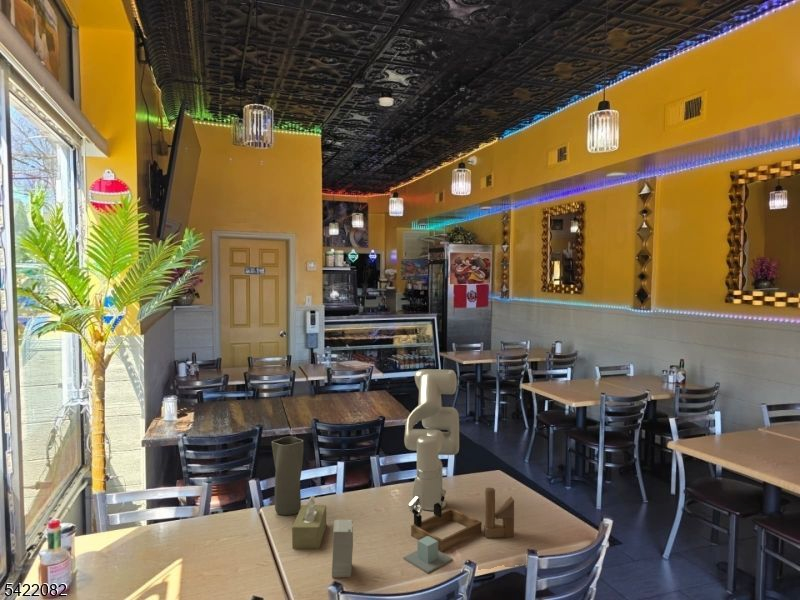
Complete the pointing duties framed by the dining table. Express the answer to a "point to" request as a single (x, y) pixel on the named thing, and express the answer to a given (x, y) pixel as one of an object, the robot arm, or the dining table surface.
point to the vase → (287, 474)
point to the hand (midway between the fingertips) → (427, 520)
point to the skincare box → (342, 548)
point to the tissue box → (309, 526)
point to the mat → (425, 566)
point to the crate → (444, 544)
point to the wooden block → (498, 516)
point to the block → (427, 549)
